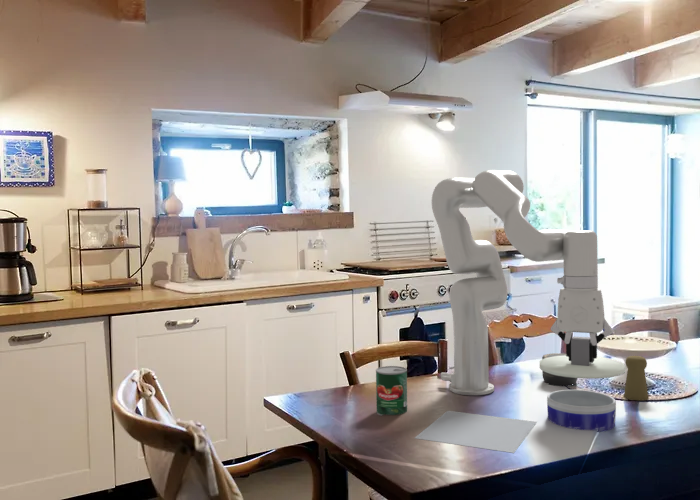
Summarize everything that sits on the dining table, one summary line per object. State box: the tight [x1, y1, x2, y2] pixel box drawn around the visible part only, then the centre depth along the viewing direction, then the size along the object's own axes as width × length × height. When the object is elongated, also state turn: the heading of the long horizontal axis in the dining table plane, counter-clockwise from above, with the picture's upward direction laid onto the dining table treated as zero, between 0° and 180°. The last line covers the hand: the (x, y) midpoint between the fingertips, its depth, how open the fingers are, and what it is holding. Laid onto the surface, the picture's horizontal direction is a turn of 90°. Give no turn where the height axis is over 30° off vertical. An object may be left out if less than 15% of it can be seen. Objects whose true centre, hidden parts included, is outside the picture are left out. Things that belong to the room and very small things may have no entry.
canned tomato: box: [375, 365, 408, 417], centre depth 166 cm, size 8×8×11 cm
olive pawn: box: [623, 355, 650, 401], centre depth 174 cm, size 6×6×11 cm
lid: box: [539, 335, 626, 379], centre depth 154 cm, size 19×19×7 cm
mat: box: [414, 410, 538, 454], centre depth 150 cm, size 22×22×1 cm
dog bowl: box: [546, 389, 617, 433], centre depth 155 cm, size 15×15×6 cm
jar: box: [541, 352, 578, 387], centre depth 191 cm, size 10×10×8 cm
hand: (581, 359), depth 154 cm, fingers closed on lid, 4 cm apart
